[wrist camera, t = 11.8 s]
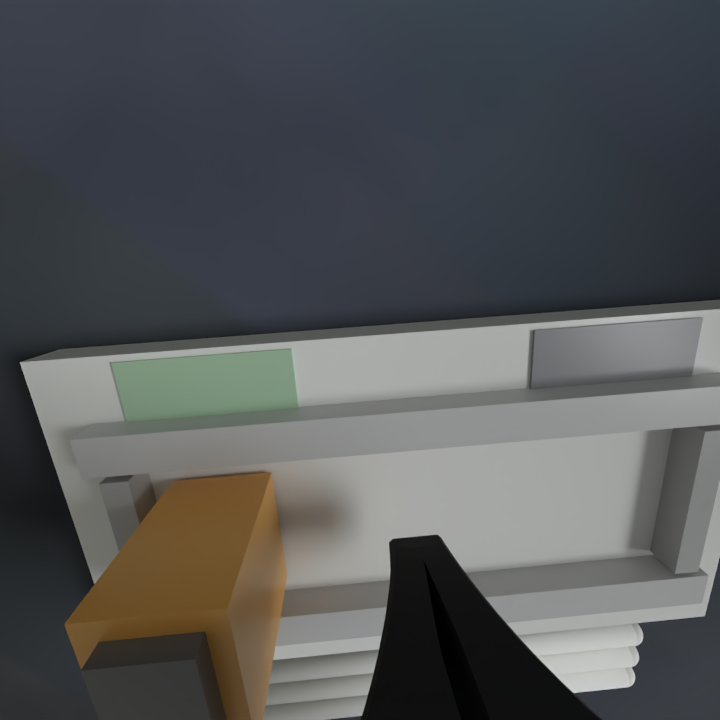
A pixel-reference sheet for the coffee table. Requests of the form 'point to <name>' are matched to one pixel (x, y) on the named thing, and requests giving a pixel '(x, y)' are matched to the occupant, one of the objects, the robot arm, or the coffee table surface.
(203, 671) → the lever
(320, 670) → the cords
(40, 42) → the coffee table surface
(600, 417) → the white flat tray
